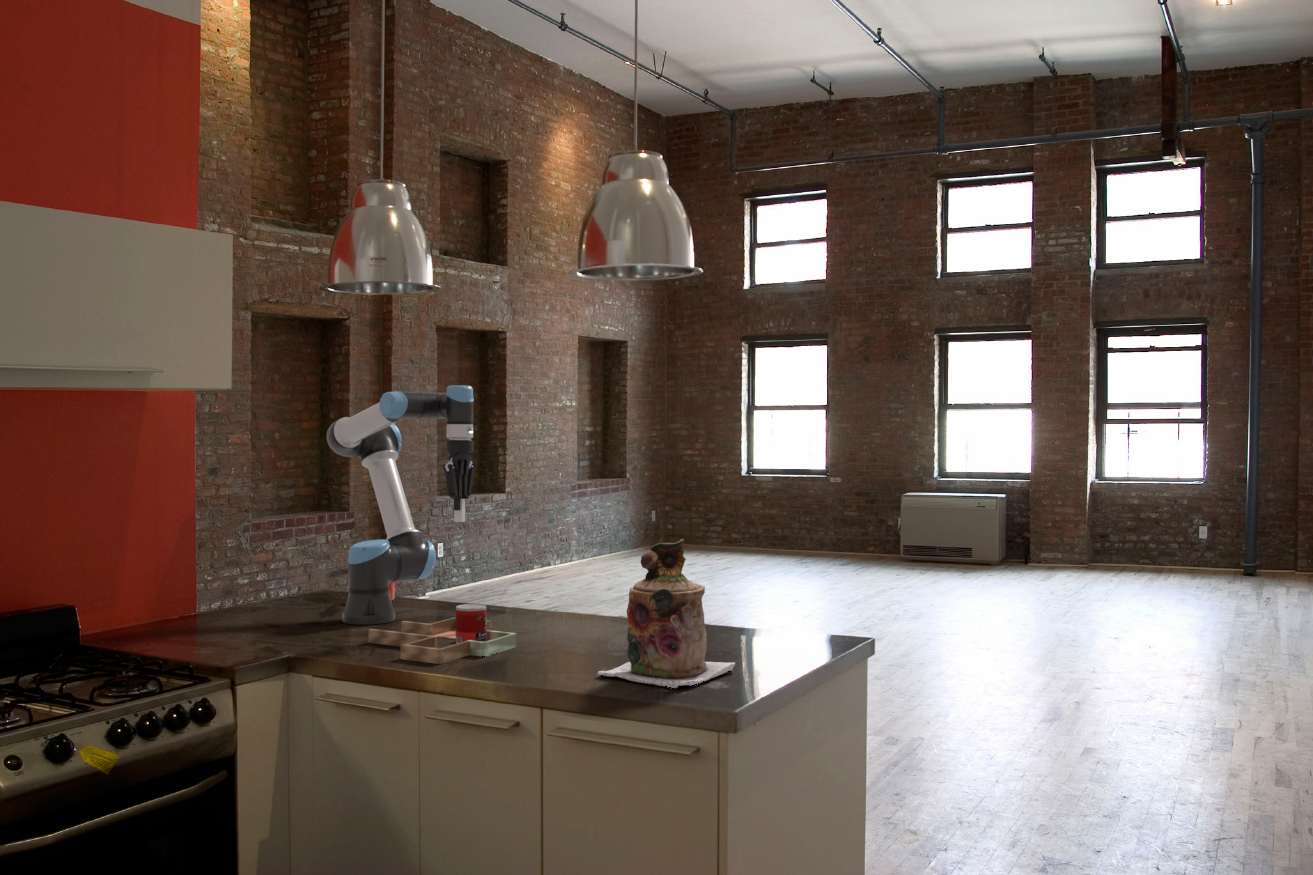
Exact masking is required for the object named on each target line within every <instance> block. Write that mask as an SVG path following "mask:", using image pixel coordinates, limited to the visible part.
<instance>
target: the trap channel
mask: <svg viewBox="0 0 1313 875" xmlns="http://www.w3.org/2000/svg"><path fill="white" fill-rule="evenodd" d="M492 626H493V620H488V619H486V642H482V641H474V640H468V641H464V642H461V643H457V644H456V643H455V644H451V645H447V646H443V647H441V648H439V646H438V644H439V643H438V640H439V638H441V639H447V640H456V616H454V617H450V618H447V619H442V620H439V621H435V622H430V623H425V622H417V621H416V622H415V621H408V620H403V621H400V631H393V630H385V629H375V628H369V629H368V633H367V634H368V637H367V638H368V644H369V643H370V644H376V645H377V644H378V645H385V646H394V647H400V654H399V655H400V660H404V661H410V662H411V661H412V662H413V661H414V662H421V663H428V664H436V665H437V664H438V665H443V664H446V663H449V662H452V661H455V660H458V659H459V660H460V659H461V658H462V659H463V658H465V656H466V657H468V656H476V657H482V656H485V658H487V657H490V656H493V655H492V654H494V655H496V653H497V654H500V653H502V652H505V651H508V650H512V649H515V648H518V647H519V633H517V632H508V631H499V630H493V627H492ZM486 656H487V657H486Z"/></svg>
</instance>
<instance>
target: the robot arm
mask: <svg viewBox="0 0 1313 875" xmlns="http://www.w3.org/2000/svg"><path fill="white" fill-rule="evenodd" d="M474 401H475V400H474V388H473V387H472V386H471V385H448V386H447V387H446V392H423V391H422V392H421V391H420V392H415V391H414V392H412V391H399V390H394V391H386V392H385V393H383V394H382V396H381V397H380V399H379V402H377V403H376V404H374V405H372V406H370V407H368V408H365V409H364V410H362V411H360V412H358V413H356V414H354V415H352V416H350V417H349V416H345V417H342V418H341V417H340V418H339V419H337V420H336V421H334V422H333V423H332V424H330V426H329V428H328V429H327V432H326V441H327V444H328V446H329V448H330V449H331V450H332V451H333V452H334V453H335V454H337V455H339V456H341V457H345V458H359V459H360V462H361V465H362V467H364V468H365V469H368V473H369V476H370V477H369V478H370V480H371V484H372V487H373V490H374V494H375V498H376V501H377V505H378V508H379V512H380V514H381V515H380V516H381V519H382V523H383V525H384V530H385V533H386V536H387V537H386V539H384V538H383V539H382V538H381V539H372V540H371V539H370V540H364V541H360V542H356V543H354V544H352V545H351V546H350V548H349V550H348V557H347V563H348V596H347V599H346V602H345V606H344V609H343V612H342V616H341V617H342V619H341V621H342V622H343V623H344V624H349V625H360V626H361V625H363V626H365V625H379V624H386V623H391V622H393V621H395V620H396V611H395V609H394V606H393V602H392V601H391V598H390V595H389V583H392V582H395V583H399V582H409V581H418V580H422V579H423V580H424V579H426V578H428V577H429V576H430V575H431V574H432V572H433V571H434V568H435V565H436V560H437V559H436V557H437V555H436V549H435V546H434V545H433V544H434V543H432V542H431V541H429V540H428V539H427V540H425V539H424V537H423V534H422V532H421V530H418V529H416V528H415V525H414V521H413V518H412V514H411V511H410V510H411V509H410V507H409V503H408V500H407V498H406V494H405V491H404V487H403V483H402V481H401V480H402V479H401V476H400V472H399V470H398V466H397V463H396V461H397V460H398V459H399V454H400V452H401V449H402V446H403V445H402V441H403V439H402V435H401V432H400V430H399V428H398V426H397V425H396V424H397V423H399V422H401V421H403V420H405V419H432V420H435V419H436V420H439V419H446V433H445V434H446V439H447V441H446V452H447V454H449V456H448V461H447V463H444V464H443V465H442V469H443V471H444V475H445V481H446V486H447V494H448V497H449V498H450V499H452V500H453V510H454V512H453V513H454V518H453V520H454V522H455V523H456V522H458V523H465V522H466V507H467V506H466V504H467V499H470V497H471V495H472V489H473V482H474V475H475V471H476V468H477V462H473V461H472V457H471V454H473V453H474V441H473V440H472V439H473V438H474Z"/></svg>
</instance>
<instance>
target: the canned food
mask: <svg viewBox="0 0 1313 875" xmlns="http://www.w3.org/2000/svg"><path fill="white" fill-rule="evenodd" d="M455 617H456V639H455V644H457V643H461V642H464V641H468V640H474V641H482V642H486V620H487V606H486V605H484V604H480V603H465V604H459V605H456V606H455Z"/></svg>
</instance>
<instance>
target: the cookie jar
mask: <svg viewBox="0 0 1313 875" xmlns="http://www.w3.org/2000/svg"><path fill="white" fill-rule="evenodd" d="M684 544H685V539H684V538H682V539H680V540H678V541H676V542H658V543H656V544H654V545H652V546H651V548H650V550H648V551H646V552H645V553H643V554H642V555H641V557H640V565H641V567H642V568H643V569H646V570H647V573H646V574H645V578H643V579H641V580H638V581H637V582H635V583H634V585H632V586H631V587H630V588H629V592H628V603H627V607H626V617H627V622H626V623H627V624H626V625H627V626H628V628H627V638H626V639H627V641H628V647H627V650H626V652H627V659H628V661H627V662H625V663H623V664H621V665H620V666H617V667H614V668H613V669H610V670H599V671H597V676H599V677H601V676H600V675H603V676H602V677H613V678H614V677H618V678H621V679H625V680H627V681H631V682H636V683H642V684H648V685H654V686H658V687H659V686H660V687H665V686H667V688H669V687H671V688H670V689H672V688H674V689H677V688H678V687H679V686H692V685H694V684H697V685H699V684H701V683H704V682H706V681H708V680H711V679H713V678H716V677H718V676H720V675H723V674H726V673H729V672H728V671H731V670H732V671H733V668H734V667H735V665H736V662H725V661H724V662H723V661H722V662H721V661H717V662H716V661H705V657H706V655H707V654H706V653H707V639H708V638H707V634H708V633H707V630H706V623H705V613H704V608H703V601H702V600H703V599H702V598H703V596H704V594H705V592H706V586H705V585H702V584H700V583H697V582H693V581H692V580H689V578H687V577H686V575H685V574H683V573H682V572H683V568H684V566H685V562H686V560H687V559H686V557H685V556H684V553H685V550H684ZM703 681H704V682H703ZM698 683H699V684H698Z"/></svg>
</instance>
